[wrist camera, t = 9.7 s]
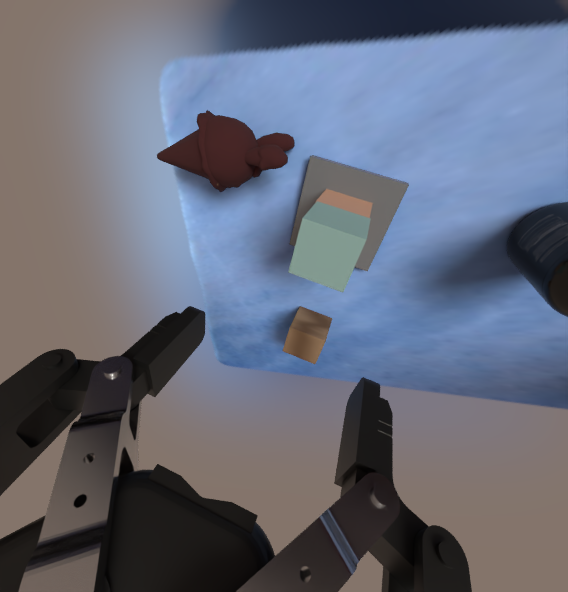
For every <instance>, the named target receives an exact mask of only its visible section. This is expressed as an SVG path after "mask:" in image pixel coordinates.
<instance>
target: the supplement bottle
mask: <svg viewBox="0 0 568 592" xmlns="http://www.w3.org/2000/svg"><path fill="white" fill-rule="evenodd" d="M507 253H508V256H509V258H510V260H511V261H512V263H513V264H514V265H515V266H516V268H517V269H518V270H519V271H520V272H521V273H522V274H523V276H524V277H525V278H526V279H527V280H528V281H529V283H530V284H531V285H532V286H533V287H534V288H535V289H536V291H537V292H538V293H539V294H540V295H541V296H542V297H543V299H544V300H545V301H546V302H547V303H548V304H549V305H550V306H551V307H552V308H553V309H554V310H556V311H557V312H559V313H560V314H562V315H564V316H567V317H568V202H564V203H557V204H553V205H550V206H547V207H544V208H542V209H539V210H537V211H535V212H534V213H532V214H530V215H529V216H527V217H526V218H525V219H523V220H522V221H521V222H520V223H519V224H518V225H517V226H516V227H515V228H514V230H513V231H512V233H511V235H510V237H509V239H508V243H507Z"/></svg>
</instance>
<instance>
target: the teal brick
mask: <svg viewBox="0 0 568 592" xmlns="http://www.w3.org/2000/svg"><path fill="white" fill-rule="evenodd" d="M370 220H371V218H367V217H364V216H361V215H358V214H355V213H352V212H349V211H346V210H343V209H340V208H337V207H334V206H331V205H328V204H325V203H321V202H318V201H317V202H316V203H315V204H314V205H313V206H312V208H311V209H310V210H309V211H308V212H307V213H306V215H305V216H304V217H303V218H302V222H301V226H300V230H299V233H298V237H297V241H296V245H295V249H294V252H293V256H292V260H291V264H290V268H289V271H288V272H289V273H292V274H294V275H297V276H300V277H302V278H305V279H308V280H310V281H313V282H316V283H319V284H321V285H324V286H327V287H329V288H332V289H335V290H337V291H340V292H344V289H345V287H346V285H347V283H348V280H349V278H350V276H351V274H352V271H353V269H354V267H355V265H356V262H357V260H358V258H359V256H360V253H361V251H362V249H363V247H364V244H365V242H366V240H367V235H368V230H369V225H370Z"/></svg>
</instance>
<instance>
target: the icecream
mask: <svg viewBox="0 0 568 592" xmlns="http://www.w3.org/2000/svg"><path fill="white" fill-rule="evenodd" d="M197 124H198V127H199V129H198V130H197V131H195V132H193V133H192V134H190V135H188V136H187V137H185V138H183V139H182V140H180V141H178V142H177V143H175V144H173V145H172V146H170V147H168V148H166V149H165V150H163V151H161V152H160V153H158V154H157V158H158V159H159V160H161V161H163V162H166V163H169V164H171V165H174V166H177V167H179V168H182V169H184V170H187V171H189V172H192V173H195V174H197V175H200V176H202V177H205V178H207V179H209V180H210V183H211V184H212V185H213V187H214V188H216V189H218V190H219V191H220V192H222V191H224V190H225V189H226V188H231V187H236V188H237V187H239V186H240V185H241V184H243V183H244V182H246V181H248V180H249V179H250V178H251V177H258V176H259V175H260V174H261V172H262V170H268V169H276V168H281V167H282V166H284V165H285V164H286V163H287V161H288V157H287V155H286V154H285V152H284V151H288V150H290V149H292V148H293V147H294V139H293V137H291V136H290V135H288V134H282V133H274V134H270V135H266V136H263V137H261V138H259V139H257V140H256V138H255V136H254V134H253V131H252V130H251V129H250V128H249V127H248V126H247V125H246V124H245V123H243V122H241V121H239V120H237V119H235V118H230V117H225V116H220V115H218V116H215V115H214V114H212V113H211V112H210V111H208V110H207V111H206V113H200V114H198V117H197Z"/></svg>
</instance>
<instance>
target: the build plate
mask: <svg viewBox="0 0 568 592" xmlns="http://www.w3.org/2000/svg"><path fill="white" fill-rule="evenodd" d="M408 186H409V184H408V183H406V182H403V181H399V180H396V179H392V178H389V177H386V176H382V175H379V174H375V173H372V172H368V171H365V170H362V169H358V168H355V167H351V166H348V165H345V164H341V163H338V162H334V161H331V160H328V159H324V158H321V157H317V156H314V155H312V156H310V160H309V164H308V168H307V173H306V177H305V181H304V185H303V189H302V194H301V198H300V202H299V206H298V210H297V215H296V219H295V223H294V227H293V231H292V236H291V240H290V245H293V246H295V245H296V241H297V237H298V233H299V230H300V226H301V222H302V218H303V217H304V216H305V215H306V213H307V212H308V211H309V210H310V209H311V208H312V206H313V205H314V204H315V202H316V200H317V199H318V198H319V197H320V196H321V195H322V193H323V192H324V191H325V190H326V189H329V190H332V191H335V192H338V193H342V194H345V195H348V196H351V197H355V198H358V199H361V200H364V201H368V202H371V203H373V204H372V209H371V213H370V218H371V220H370V225H369V230H368V235H367V240H366V242H365V244H364V247H363V249H362V251H361V253H360V256H359V258H358V260H357V262H356V265H355V267H356V268H359V269H362V270H365V271H368V269H369V267H370V265H371V263H372V261H373V259H374V257H375V255H376V252H377V250H378V248H379V246H380V244H381V242H382V240H383V238H384V236H385V234H386V232H387V230H388V227H389V225H390V223H391V221H392V219H393V217H394V215H395V213H396V211H397V209H398V207H399V204H400V202H401V200H402V198H403V196H404V194H405V192H406V190H407V188H408Z"/></svg>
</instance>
